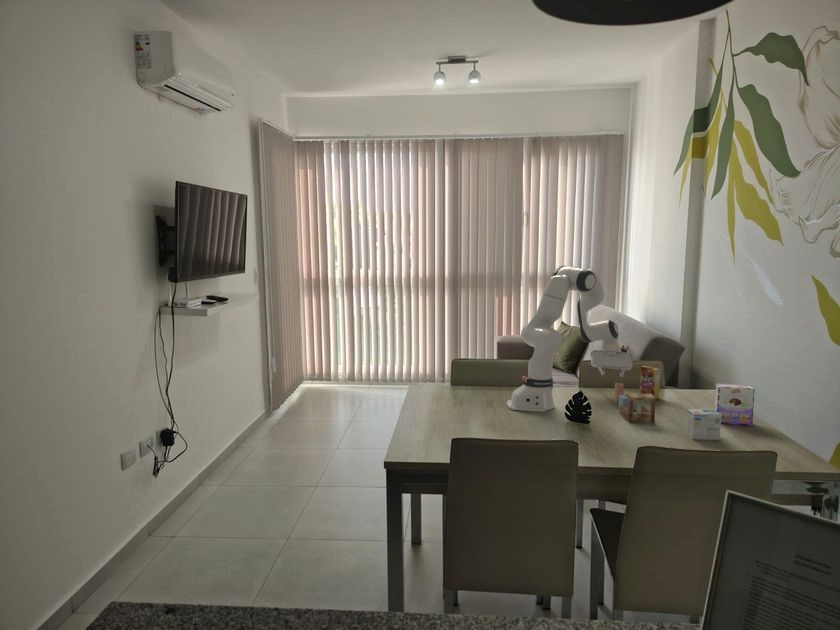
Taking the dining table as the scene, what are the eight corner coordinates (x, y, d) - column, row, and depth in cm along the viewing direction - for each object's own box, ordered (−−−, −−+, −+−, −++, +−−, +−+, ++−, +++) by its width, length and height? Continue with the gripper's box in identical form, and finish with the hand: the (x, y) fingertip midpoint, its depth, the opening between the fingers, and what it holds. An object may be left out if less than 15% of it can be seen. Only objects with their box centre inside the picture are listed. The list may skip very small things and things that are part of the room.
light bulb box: (713, 434, 219) (714, 408, 217) (720, 440, 212) (722, 414, 211) (685, 433, 220) (687, 408, 218) (692, 439, 213) (693, 413, 212)
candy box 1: (638, 395, 275) (640, 365, 273) (644, 394, 277) (646, 365, 275) (653, 399, 268) (655, 369, 266) (659, 398, 270) (661, 368, 268)
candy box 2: (749, 422, 233) (751, 385, 231) (752, 426, 228) (755, 388, 226) (713, 418, 238) (715, 382, 236) (715, 423, 232) (718, 386, 230)
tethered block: (622, 410, 250) (623, 392, 249) (611, 400, 266) (612, 382, 265) (635, 411, 250) (636, 392, 248) (623, 400, 266) (624, 382, 265)
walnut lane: (628, 422, 234) (629, 397, 232) (619, 413, 246) (620, 389, 244) (654, 422, 233) (655, 397, 232) (644, 413, 245) (645, 390, 244)
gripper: (591, 346, 278) (593, 370, 271) (632, 350, 277) (634, 374, 270) (588, 352, 284) (590, 376, 276) (628, 356, 282) (630, 380, 275)
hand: (612, 375), depth 273 cm, fingers open, 8 cm apart
